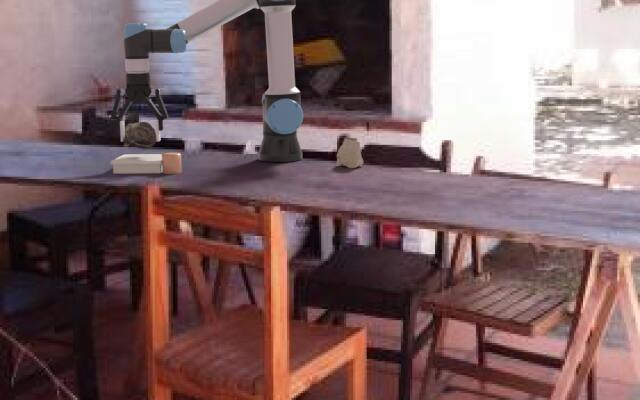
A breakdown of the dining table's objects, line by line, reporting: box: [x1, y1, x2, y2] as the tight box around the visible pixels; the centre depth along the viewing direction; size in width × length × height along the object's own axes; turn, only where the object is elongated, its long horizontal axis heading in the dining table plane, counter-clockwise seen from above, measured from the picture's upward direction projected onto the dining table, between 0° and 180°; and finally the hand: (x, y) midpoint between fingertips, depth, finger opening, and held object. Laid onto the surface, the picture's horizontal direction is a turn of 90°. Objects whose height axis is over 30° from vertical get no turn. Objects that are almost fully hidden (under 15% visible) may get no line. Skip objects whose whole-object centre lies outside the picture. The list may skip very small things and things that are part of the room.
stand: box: [110, 153, 163, 175], centre depth 299 cm, size 16×16×4 cm
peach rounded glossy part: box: [161, 152, 183, 175], centre depth 292 cm, size 6×6×6 cm
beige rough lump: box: [336, 137, 364, 169], centre depth 299 cm, size 9×8×10 cm
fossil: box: [123, 121, 158, 150], centre depth 298 cm, size 11×9×10 cm
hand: (140, 141), depth 298 cm, fingers closed on fossil, 11 cm apart
